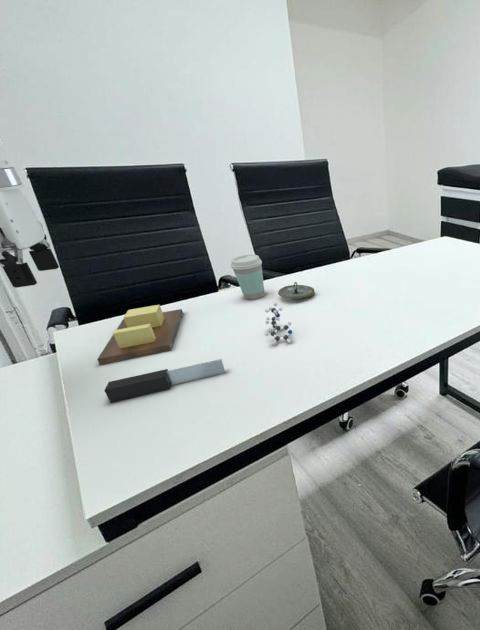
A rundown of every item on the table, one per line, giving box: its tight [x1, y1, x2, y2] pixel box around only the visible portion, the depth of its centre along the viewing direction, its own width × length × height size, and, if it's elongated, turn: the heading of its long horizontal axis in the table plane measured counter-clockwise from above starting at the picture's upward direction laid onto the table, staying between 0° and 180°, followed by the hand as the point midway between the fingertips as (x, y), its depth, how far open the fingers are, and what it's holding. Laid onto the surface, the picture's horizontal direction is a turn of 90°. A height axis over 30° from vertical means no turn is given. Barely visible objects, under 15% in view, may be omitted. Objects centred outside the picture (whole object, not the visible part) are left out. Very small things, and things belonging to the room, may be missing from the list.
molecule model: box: [264, 302, 293, 346], centre depth 93 cm, size 6×12×8 cm, turn 31°
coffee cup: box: [230, 254, 265, 301], centre depth 116 cm, size 8×8×12 cm
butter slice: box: [112, 324, 156, 349], centre depth 90 cm, size 7×2×4 cm, turn 112°
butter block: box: [123, 304, 164, 328], centre depth 99 cm, size 7×5×4 cm
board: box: [96, 308, 184, 366], centre depth 97 cm, size 14×22×2 cm, turn 22°
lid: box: [277, 281, 315, 300], centre depth 115 cm, size 11×10×5 cm
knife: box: [104, 358, 226, 404], centre depth 77 cm, size 20×3×3 cm, turn 112°
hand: (38, 277), depth 72 cm, fingers open, 9 cm apart
